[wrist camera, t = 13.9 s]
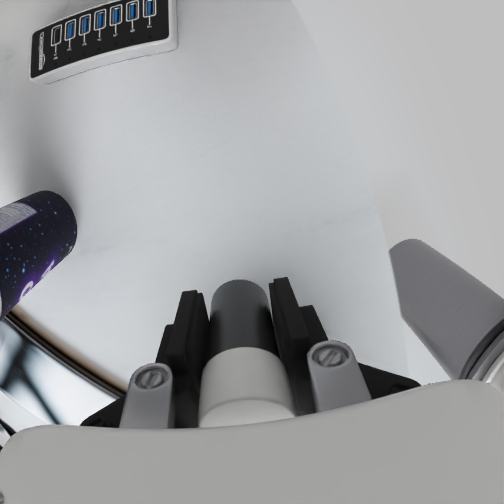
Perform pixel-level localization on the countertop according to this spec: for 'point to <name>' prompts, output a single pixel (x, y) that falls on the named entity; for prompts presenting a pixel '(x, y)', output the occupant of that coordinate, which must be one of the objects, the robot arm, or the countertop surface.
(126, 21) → the multiport hub
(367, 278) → the countertop surface
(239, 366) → the white and black cylinder
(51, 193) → the beverage can
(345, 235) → the countertop surface
